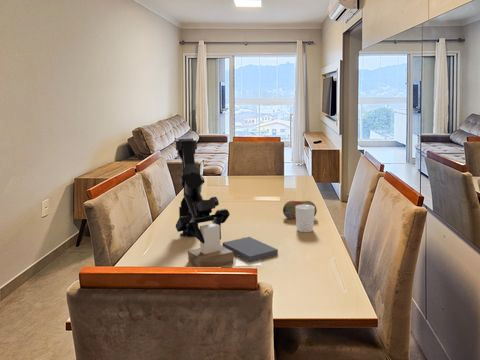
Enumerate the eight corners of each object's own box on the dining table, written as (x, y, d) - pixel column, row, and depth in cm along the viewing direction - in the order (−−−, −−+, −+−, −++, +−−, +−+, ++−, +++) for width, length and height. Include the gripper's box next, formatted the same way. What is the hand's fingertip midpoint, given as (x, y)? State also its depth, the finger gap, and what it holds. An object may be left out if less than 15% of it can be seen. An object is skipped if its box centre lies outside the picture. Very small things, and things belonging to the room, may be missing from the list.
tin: (282, 219, 207) (282, 201, 205) (283, 217, 210) (283, 199, 208) (316, 220, 204) (316, 201, 203) (316, 218, 207) (316, 200, 206)
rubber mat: (222, 247, 170) (222, 242, 170) (249, 241, 176) (249, 236, 176) (249, 262, 155) (249, 256, 155) (277, 254, 161) (277, 249, 161)
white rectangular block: (200, 251, 154) (199, 226, 153) (215, 248, 158) (215, 223, 156) (204, 254, 152) (203, 228, 150) (220, 250, 155) (219, 225, 153)
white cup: (291, 230, 190) (291, 207, 188) (302, 226, 195) (302, 203, 193) (307, 234, 184) (307, 210, 182) (318, 229, 190) (318, 206, 188)
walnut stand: (188, 261, 156) (187, 250, 156) (218, 254, 163) (218, 243, 162) (202, 270, 148) (201, 259, 147) (233, 263, 155) (233, 251, 154)
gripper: (177, 193, 149) (194, 234, 142) (226, 186, 159) (244, 223, 152) (168, 211, 157) (184, 251, 150) (215, 203, 167) (232, 240, 160)
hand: (212, 241), depth 153 cm, fingers closed on white rectangular block, 6 cm apart
